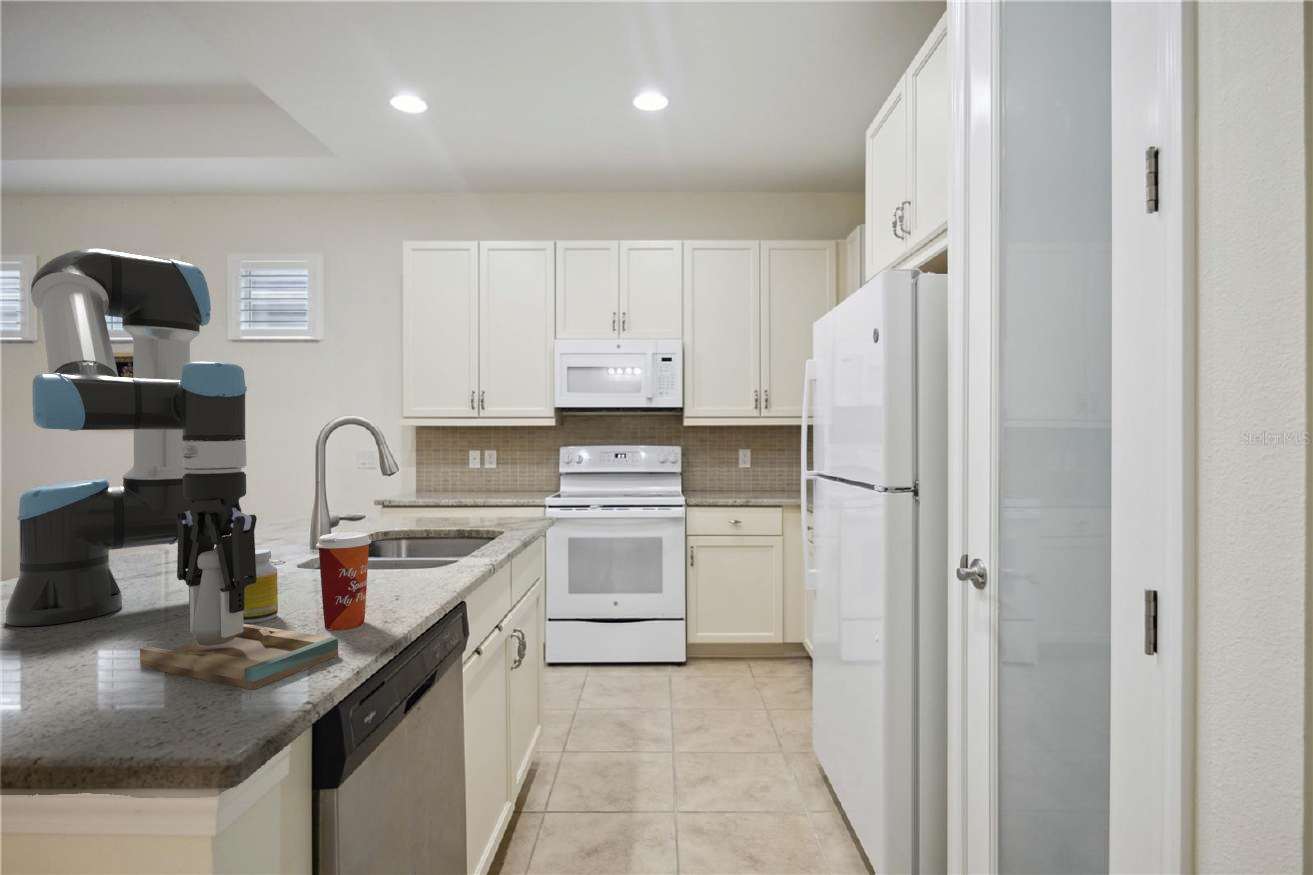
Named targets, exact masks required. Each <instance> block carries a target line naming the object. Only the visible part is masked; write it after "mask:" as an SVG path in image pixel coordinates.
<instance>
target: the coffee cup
mask: <svg viewBox="0 0 1313 875" xmlns="http://www.w3.org/2000/svg"><path fill="white" fill-rule="evenodd" d="M369 538H370V537H369V534H368V533H367V532H360V531H348V532H334V533H328V534H323V535H320V536H319V539H318V543H316V545H315V546H316V547H317V548H318V557H319V569H320V570H319V571H320V572H319V574H320V584H321V586H320V587H321V598H322V599H321V601H322V611H323V612H322V613H323V623H324V624H323V625H324V629H326V630H328V631H346V630H352V629H356V628H360V627H361V626H362V625H364V624H365V618H366V606H367V605H366V603H367V602H366V601H367V587H368V586H367V584H368V572H369V570H368V567H369V550H370V549H369V547H370V544H371V543H372V540H371V539H369Z"/></svg>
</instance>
